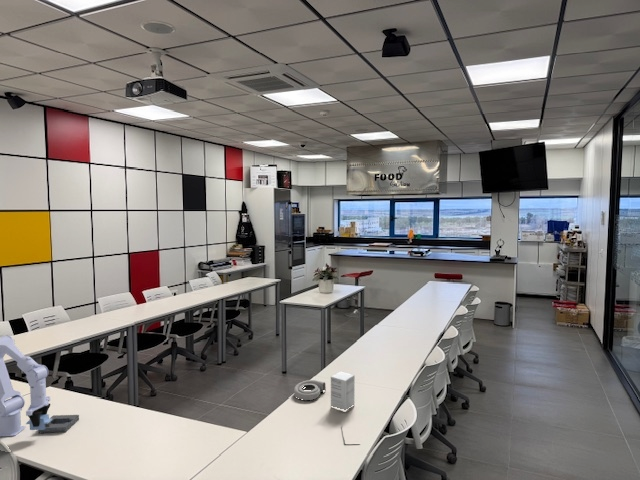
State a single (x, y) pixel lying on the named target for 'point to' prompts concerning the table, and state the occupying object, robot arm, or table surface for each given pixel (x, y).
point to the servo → (41, 422)
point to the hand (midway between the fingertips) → (39, 423)
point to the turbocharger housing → (310, 385)
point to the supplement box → (342, 390)
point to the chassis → (60, 424)
